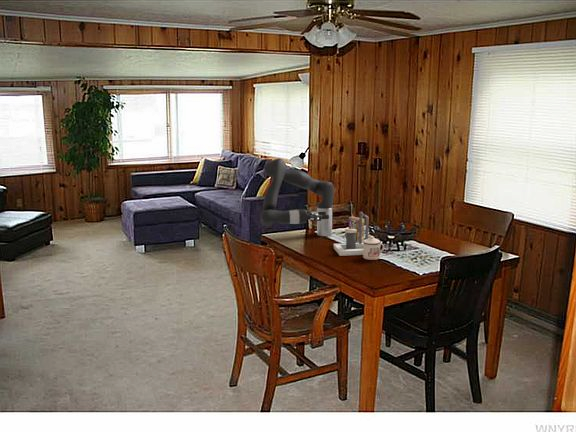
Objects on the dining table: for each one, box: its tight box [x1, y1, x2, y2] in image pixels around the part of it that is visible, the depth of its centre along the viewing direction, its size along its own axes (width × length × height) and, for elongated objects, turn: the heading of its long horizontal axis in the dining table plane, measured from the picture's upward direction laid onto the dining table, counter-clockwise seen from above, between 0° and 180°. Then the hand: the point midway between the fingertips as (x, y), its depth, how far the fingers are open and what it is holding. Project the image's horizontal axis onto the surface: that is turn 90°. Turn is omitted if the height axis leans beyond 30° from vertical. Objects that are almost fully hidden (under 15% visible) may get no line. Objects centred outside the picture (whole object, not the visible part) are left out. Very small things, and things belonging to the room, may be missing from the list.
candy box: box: [348, 216, 365, 243], centre depth 326 cm, size 9×4×15 cm, turn 39°
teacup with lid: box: [362, 235, 385, 261], centre depth 297 cm, size 12×9×12 cm
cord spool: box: [344, 228, 357, 250], centre depth 310 cm, size 6×6×12 cm
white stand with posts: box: [333, 211, 370, 257], centre depth 309 cm, size 16×20×21 cm
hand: (327, 215), depth 305 cm, fingers open, 8 cm apart
